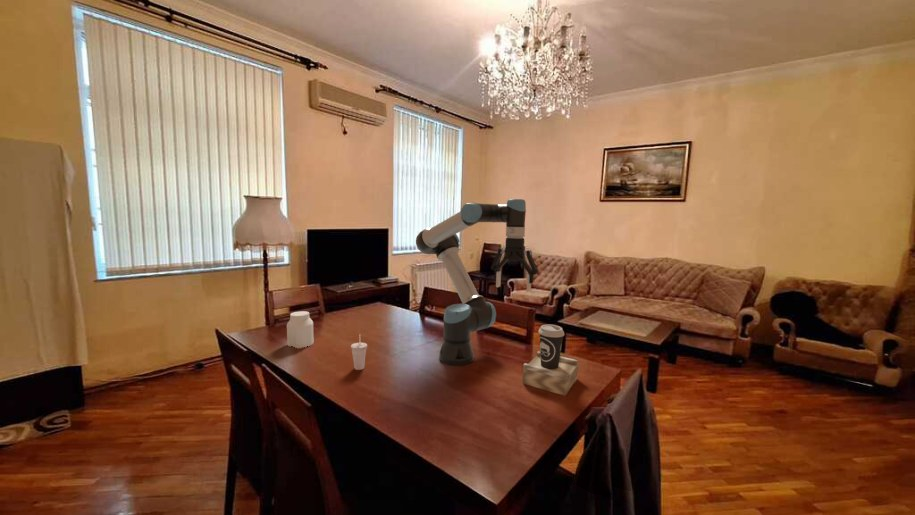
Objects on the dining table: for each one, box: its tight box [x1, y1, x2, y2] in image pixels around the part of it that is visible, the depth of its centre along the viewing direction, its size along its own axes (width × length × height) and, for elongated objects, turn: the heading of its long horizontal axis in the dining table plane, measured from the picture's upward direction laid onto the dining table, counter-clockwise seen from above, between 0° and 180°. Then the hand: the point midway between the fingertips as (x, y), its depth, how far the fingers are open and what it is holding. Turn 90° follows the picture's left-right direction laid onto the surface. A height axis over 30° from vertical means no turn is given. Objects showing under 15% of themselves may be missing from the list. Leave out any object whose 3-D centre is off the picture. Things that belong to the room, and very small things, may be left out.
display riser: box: [522, 350, 579, 397], centre depth 133 cm, size 16×16×8 cm
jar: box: [286, 310, 315, 349], centre depth 165 cm, size 12×10×15 cm
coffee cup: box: [538, 324, 565, 369], centre depth 132 cm, size 10×10×15 cm
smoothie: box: [350, 333, 368, 371], centre depth 140 cm, size 6×6×14 cm
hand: (513, 288), depth 144 cm, fingers open, 13 cm apart
